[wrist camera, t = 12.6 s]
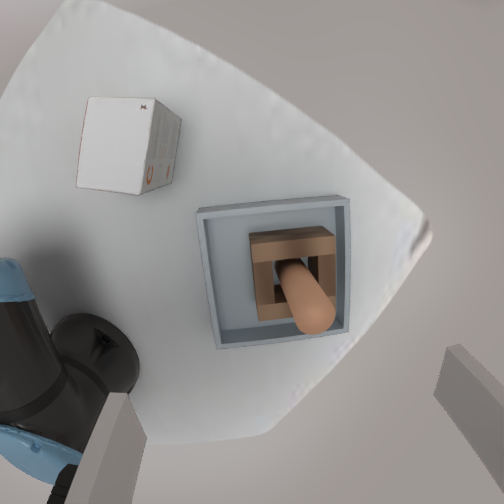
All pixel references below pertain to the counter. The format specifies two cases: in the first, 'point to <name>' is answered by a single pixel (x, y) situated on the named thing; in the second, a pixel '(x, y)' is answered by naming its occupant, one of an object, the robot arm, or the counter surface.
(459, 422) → the robot arm
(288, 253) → the block
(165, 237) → the counter surface
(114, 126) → the small box
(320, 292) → the peg
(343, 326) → the tray
